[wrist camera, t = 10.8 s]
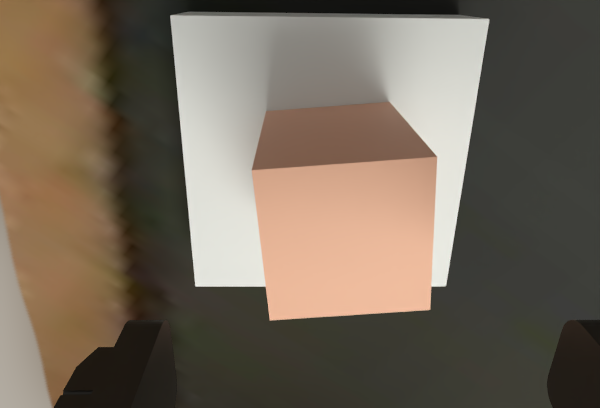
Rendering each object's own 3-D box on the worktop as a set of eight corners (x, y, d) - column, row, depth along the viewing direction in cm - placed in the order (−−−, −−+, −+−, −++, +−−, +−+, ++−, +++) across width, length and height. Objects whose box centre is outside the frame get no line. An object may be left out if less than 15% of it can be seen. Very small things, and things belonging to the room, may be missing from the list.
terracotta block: (266, 111, 19) (251, 170, 13) (389, 101, 19) (437, 156, 13) (277, 221, 21) (269, 320, 15) (389, 213, 21) (430, 309, 15)
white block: (190, 11, 21) (170, 15, 18) (455, 14, 22) (489, 18, 18) (208, 245, 26) (195, 286, 23) (424, 245, 26) (445, 286, 23)
